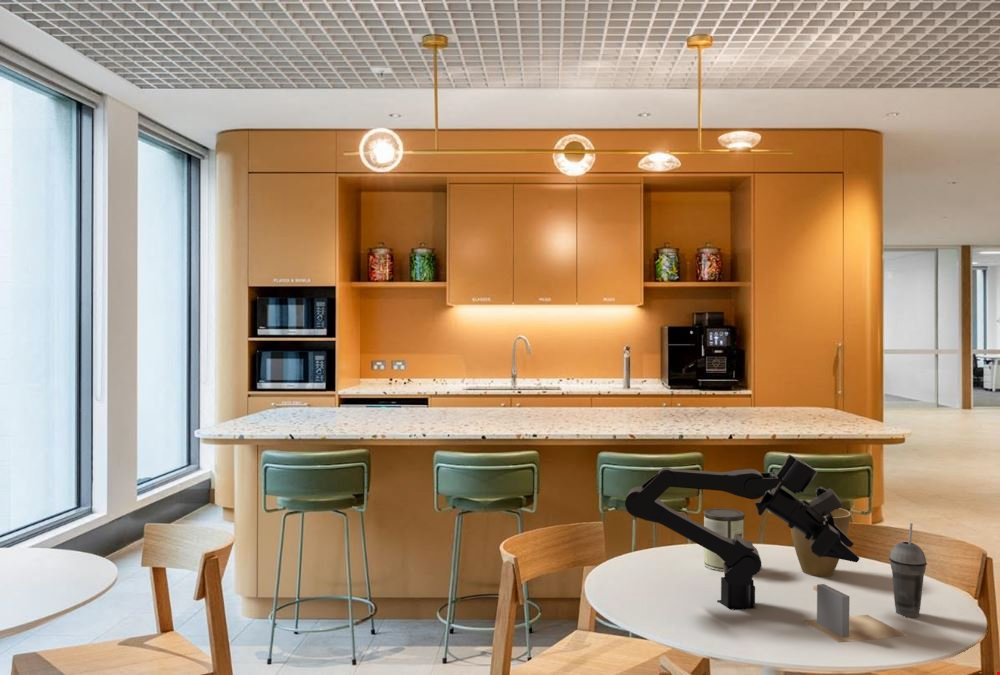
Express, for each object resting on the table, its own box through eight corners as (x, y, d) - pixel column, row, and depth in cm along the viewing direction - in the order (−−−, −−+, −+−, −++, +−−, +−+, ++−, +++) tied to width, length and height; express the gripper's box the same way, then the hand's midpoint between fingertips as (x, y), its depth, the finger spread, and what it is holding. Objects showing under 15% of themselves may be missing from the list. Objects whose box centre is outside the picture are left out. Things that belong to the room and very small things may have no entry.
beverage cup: (914, 608, 176) (915, 518, 176) (933, 620, 168) (934, 526, 168) (882, 608, 175) (883, 518, 175) (899, 620, 168) (900, 526, 168)
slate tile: (842, 637, 157) (842, 596, 157) (816, 623, 164) (817, 584, 164) (849, 636, 157) (850, 596, 157) (824, 622, 165) (824, 583, 165)
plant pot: (776, 571, 203) (776, 509, 202) (804, 560, 213) (804, 501, 212) (833, 585, 192) (834, 519, 191) (860, 573, 202) (860, 510, 201)
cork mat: (838, 645, 154) (838, 642, 154) (801, 623, 166) (801, 620, 166) (908, 638, 158) (908, 635, 158) (867, 617, 170) (867, 614, 170)
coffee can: (710, 558, 214) (710, 506, 214) (748, 564, 208) (749, 511, 208) (697, 567, 205) (698, 513, 205) (737, 574, 200) (738, 518, 200)
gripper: (816, 492, 162) (886, 538, 159) (809, 469, 180) (871, 510, 177) (784, 534, 165) (852, 580, 162) (780, 508, 183) (841, 548, 179)
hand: (855, 552), depth 170 cm, fingers open, 9 cm apart
